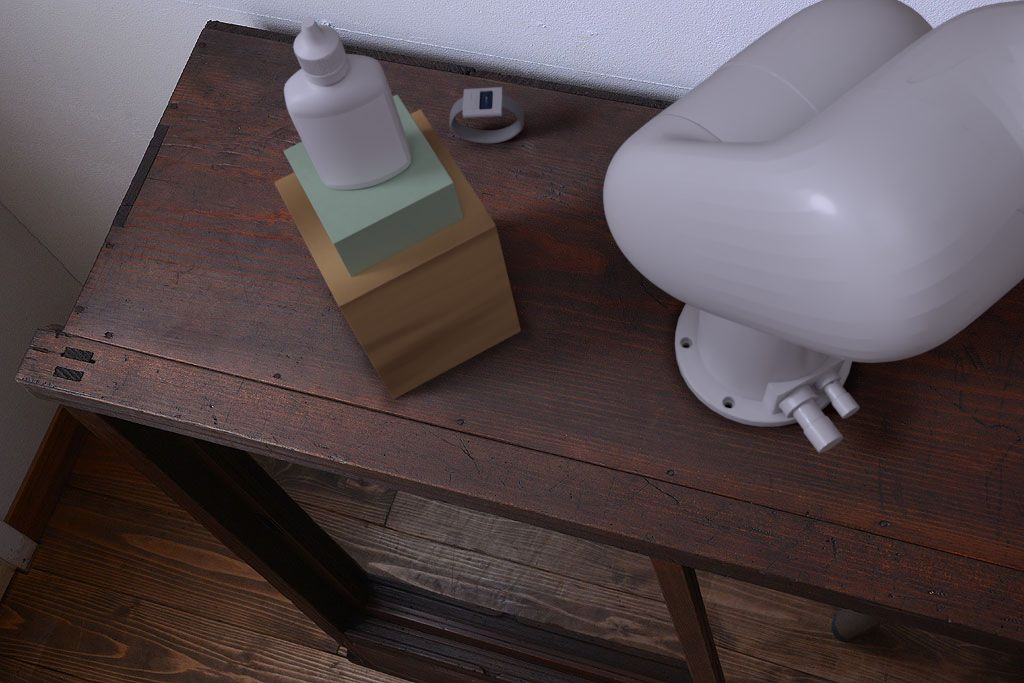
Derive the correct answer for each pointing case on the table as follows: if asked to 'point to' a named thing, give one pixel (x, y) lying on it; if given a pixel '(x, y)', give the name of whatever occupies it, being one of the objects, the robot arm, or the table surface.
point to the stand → (419, 287)
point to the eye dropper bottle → (344, 112)
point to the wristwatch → (485, 115)
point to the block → (383, 203)
